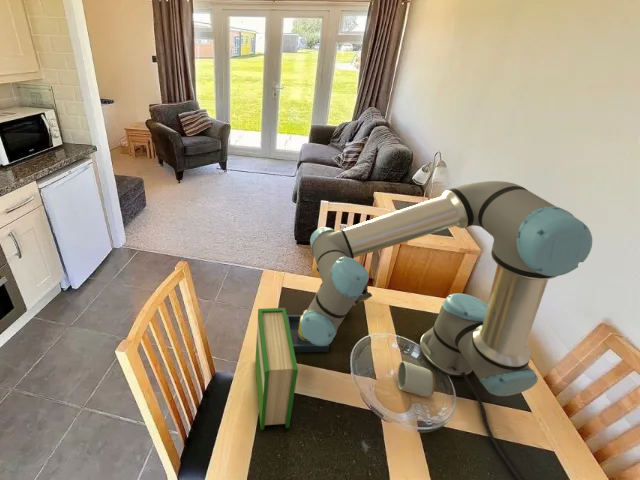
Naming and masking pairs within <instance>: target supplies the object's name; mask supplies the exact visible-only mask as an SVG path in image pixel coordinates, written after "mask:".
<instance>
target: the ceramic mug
mask: <svg viewBox="0 0 640 480" xmlns="http://www.w3.org/2000/svg"><path fill="white" fill-rule="evenodd" d="M435 380H436V379H435V375H434V374H433V372H432V371H431V370H430V369H428V368H426V367H423V366H420V365H416V364H413V363H412V362H409V361H405V360H401V361H400V363H399V366H398V369H397V386H398V388H399V390H400V391H403V392H407V393H410V394H413V395H418V396H421V397H423V398H430V397H432V396H433V395H434V392H435V389H436V381H435Z"/></svg>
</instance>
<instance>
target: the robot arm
mask: <svg viewBox="0 0 640 480" xmlns="http://www.w3.org/2000/svg"><path fill="white" fill-rule="evenodd" d="M473 226H474V227H481V228H482V229H483V230H484V231H485V232H486V233H488V234H489V235H490V236H491V237H492V238H493V242H492V246H491V247H492V248H491V252H490V254H491V258H492V260H493V262H495V264H496V268H495V273H494V276H493V280H492V285H491V289H490V293H489V297H488V301H487V303H486V302H484V301H483V300H481V299H479V298H478V297H475V296H473V295H471V294H467V293H460V292H459V293H458V292H457V293H455V292H454V293H451V294H449V295H447V296H446V298H445V300H444V302H442V304H441V307H440V310H439V313H438V314H437V317H436V320H435V322H434V325H433V326H432V327H431V328H430V329H429V330H427V331H426V332H425V333H423V335H422V336H421V338H420V341H419V349H420V353H421V355H422V356H423V358H424V359H425V361H426V362H427V363H428V364H429V365H430V366H431V367H433V368H434V369H435V370H437V371H438V372H440V373H442V374H443V375H446V376H448V377H451V378H452V377H453V378H463V379H464V380H465V382H466V384H467V385H468V387H469V389H470V390H471V392H472V393H473V396H474V397H475V399H476V401H477V403H478V405H479V408H480V411H481V416H482V420H483V423H484V428H485V430H486V432H487V435H488V437H489V439H490V440H491V443H492V444H493V447H494V448H495V449H496V451H497V452H498V455H500V457H501V458H502V460H503V461H504V463H505V464H506V466H507V468H508V469H509V471H510V472H511V473H512V475H513V476H514V477H515V478H516V480H523V479H522V477H521V476H520V473H518V472H517V470H516V469H515V467H514V466H513V464H512V463H511V462H510V461H509V459H508V457H507V456H506V455H505V453H504V452H503V450H502V449H501V447H500V446H499V443H498V442H497V440H496V438H495V437H494V435H493V432H492V430H491V428H490V425H489V422H488V416H487V412H486V409H485V406H484V404H483V402H482V399H481V398H480V396H479V394H478V392H477V390H476V389H475V388H474V386H473V384H472V382H471V381H470V379H469V377H468V376H469V375H471V373H472V372H473V373H474V374H475V376H476V377H477V379H478V381H479V383H481V385H482V386H483V387H484V389H485V390H486V391H487V392H488V393H489V394H491V395H493V396H497V397H508V396H514V395H517V394H521V393H524V392H526V391H528V390H530V389H531V388H533V387H534V386H535V385H536V384H537V383H538V381H539V377H538V375H537V374H536V373H535V372H536V371H535V370H534V369H532V368H531V367H530V365H529V364H530V360H531V358H532V351H531V347H530V345H529V344H528V343H527V342H528V339H529V336H530V333H531V332H532V328H533V326H534V322H535V320H536V316H537V314H538V311H539V307H540V304H541V302H542V299H543V296H544V293H545V291H546V287H547V285H548V283H549V280H551V279H556V278H557V277H559V276H563V275H567V274H569V273H571V272H573V271H574V270H576V269H578V268H579V263H584V262H585V261H586V260H587V258H588V257H589V255H590V253H591V251H592V248H593V235H592V232H591V230H590V227H588V225H586V224H585V223H584V221H582V220H580V219H579V218H577V217H576V216H574V214H573V213H572V212H570V211H568V210H566V209H564V208H562V207H559V206H556V205H554V204H552V203H551V202H549V201H547V200H546V199H544V198H542V197H540V196H539V195H537V194H536V193H533V192H532V191H529V190H528V189H527V188H525V187H523V186H521V185H519V184H517V183H515V182H508V181H500V180H488V181H487V180H486V181H479V182H472V183H471V182H470V183H467V184H462V185H459V186H455V187H452V188H449V189H446V190H444V191H443V192H442V194H441V196H439V197H436V198H432V199H429V200H425V201H423V202H420V203H417V204H415V205H411V206H409V207H405V208H402V209H399V210H396V211H394V212H390V213H387V214H384V215H381V216H378V217H376V218H375V217H374V218H372V219H370V220H366V221H363V222H360V223H357V224H354V225H351V226H348V227H346V228H343V229H339V230H337V231H336V230H334V229H333V228H332V227H327V226H322V227H318V228H317V229H316V230H314V231H313V232H312V233H311V236H310V239H309V242H310V248H311V253H312V255H313V257H314V260H315V263H316V271H317V272H318V273H319V275H320V279H321V284H320V285H319V288H318V290H316V293H315V295H314V297H313V299H312V300H311V303H310V304H309V306H308V308H307V309H306V310H307V311H306V313H305V314H304V316H303V319H302V322H301V331H302V333H303V335H304V337H305V338H306V339H307V340H308V341H310V342H311V343H312V344H315V345H318V346H326V345H328V344H329V345H330V344H331V343H332V342H333V340H334V338H335V337H336V335H337V333H338V332H337V331H338V328H340V325H341V324H342V322H343V321H344V319H345V318H346V317H347V314H348V313H349V311H350V310H351V308H353V307H354V306H356V305H357V304H359V303H361V302H365V301H367V300H368V299H370V298H372V297H373V294H372V292H369V289H368V287H369V279H370V276H369V272H368V270H367V268H366V267H365V266H363V265H362V263H360V261H358V260H357V259H356V258H358V257H361V256H365V255H368V254H371V253H374V252H377V251H380V250H384V249H386V248H390V247H393V246H396V245H399V244H403V243H407V242H408V241H413V240H416V239H418V238H422V237H425V236H428V235H431V234H435V233H438V232H441V231H444V230H447V229H451V228H454V227H456V228H459V229H465V228H469V227H473Z"/></svg>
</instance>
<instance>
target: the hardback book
mask: <svg viewBox="0 0 640 480" xmlns="http://www.w3.org/2000/svg"><path fill="white" fill-rule="evenodd" d="M287 315H288V314H287V309H286V307H270V308H269V307H268V308H258V309H257V325H256V344H255V365H254V366H255V367H254V368H255V376H256V390H257V392H256V393H257V403H258V416H259V425H260V430H261V431H263V430H265V426H271V425H273V426H274V425H284V427H285V429H290V424H291V417H292V412H293V403H294V397H295V392H296V386H297V379H298V372H299V368H298V363H297V357H296V352H294V348H293V343H292V338H291V333H290V329H289V324H288V319H287Z"/></svg>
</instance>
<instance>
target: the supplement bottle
mask: <svg viewBox="0 0 640 480" xmlns="http://www.w3.org/2000/svg"><path fill="white" fill-rule="evenodd" d="M307 310H308V309H305V310H303V313H302V314H301V315H302V316H301V318H300V323H299V329H298V335H299V337H300V338H301V339H302V340H304V341H308V340H307V339H306V338H305V337H304V335H303V333H302V331H301V322H302V319H303V316H304V314H305V313H306V311H307Z"/></svg>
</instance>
